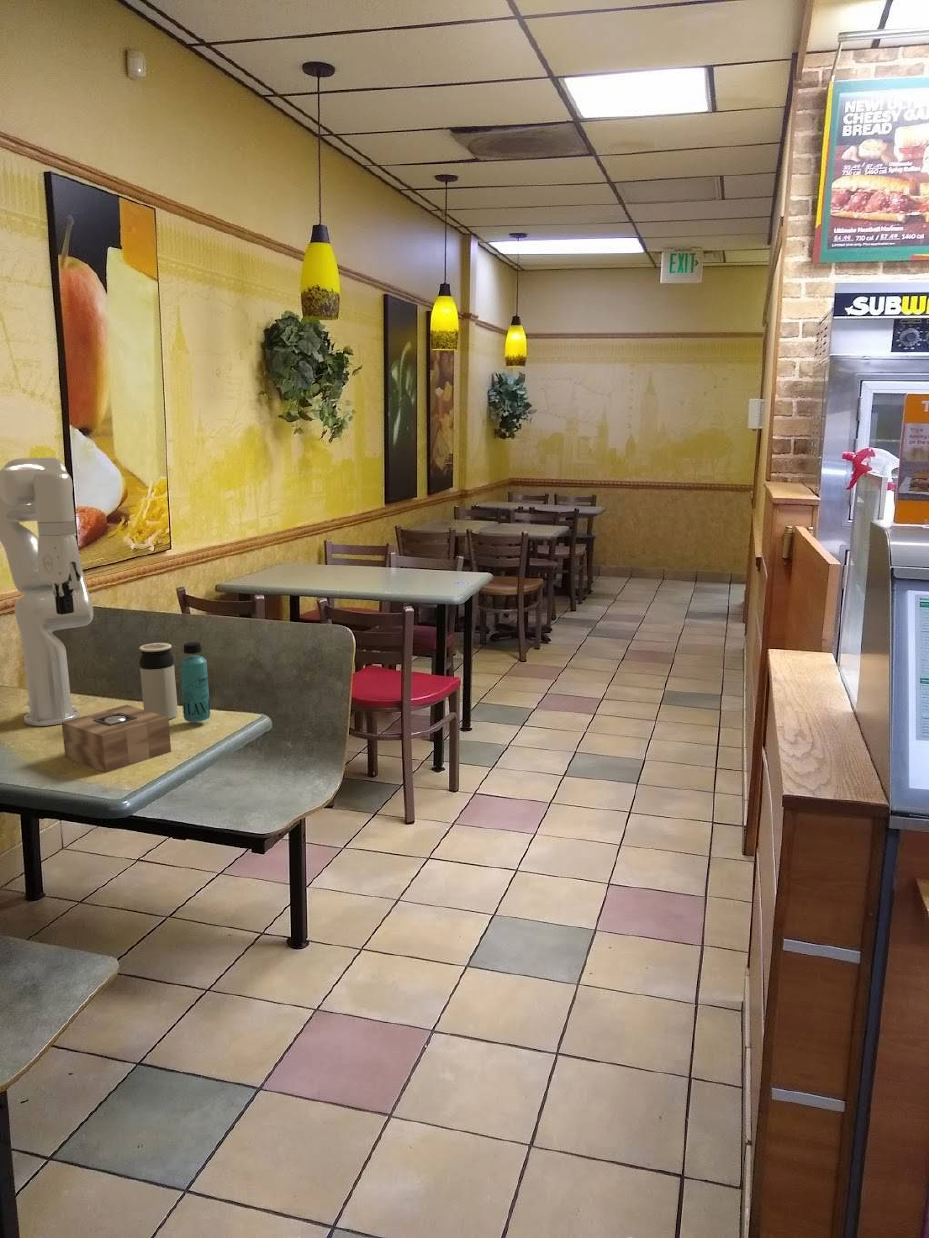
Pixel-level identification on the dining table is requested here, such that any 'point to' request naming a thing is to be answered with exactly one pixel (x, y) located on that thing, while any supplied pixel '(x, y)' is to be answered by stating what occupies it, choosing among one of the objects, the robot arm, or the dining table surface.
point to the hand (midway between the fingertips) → (65, 613)
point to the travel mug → (158, 679)
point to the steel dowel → (115, 719)
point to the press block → (116, 738)
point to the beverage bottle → (194, 684)
